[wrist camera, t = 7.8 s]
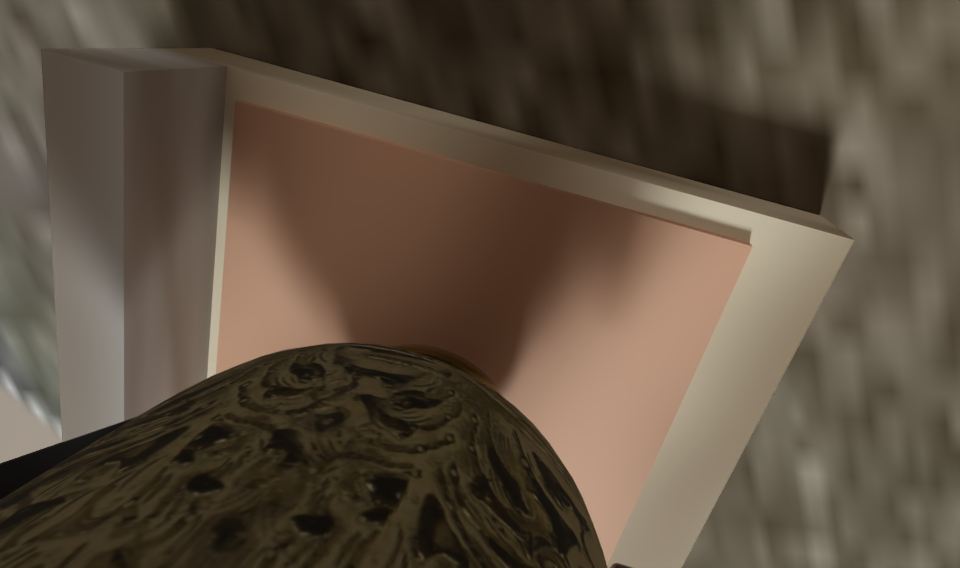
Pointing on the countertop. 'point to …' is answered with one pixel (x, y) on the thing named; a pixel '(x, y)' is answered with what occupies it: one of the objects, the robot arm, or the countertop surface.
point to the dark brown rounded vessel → (313, 475)
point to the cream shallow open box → (419, 268)
